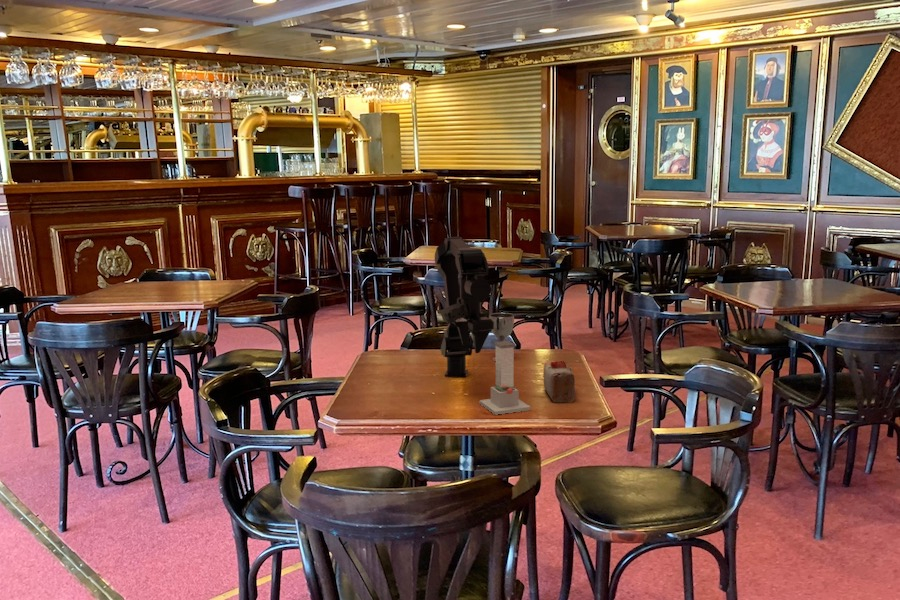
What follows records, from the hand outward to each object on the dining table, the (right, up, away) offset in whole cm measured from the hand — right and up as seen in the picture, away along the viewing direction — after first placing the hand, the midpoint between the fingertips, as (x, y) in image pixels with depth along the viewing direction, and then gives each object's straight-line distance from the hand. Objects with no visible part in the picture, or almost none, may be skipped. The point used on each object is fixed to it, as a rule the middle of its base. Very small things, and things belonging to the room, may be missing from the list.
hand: (471, 349), depth 202 cm
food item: (+24, -13, -3) cm, 28 cm away
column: (+8, -10, -14) cm, 19 cm away
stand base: (+8, -14, -13) cm, 21 cm away
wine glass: (+11, -6, +35) cm, 37 cm away
